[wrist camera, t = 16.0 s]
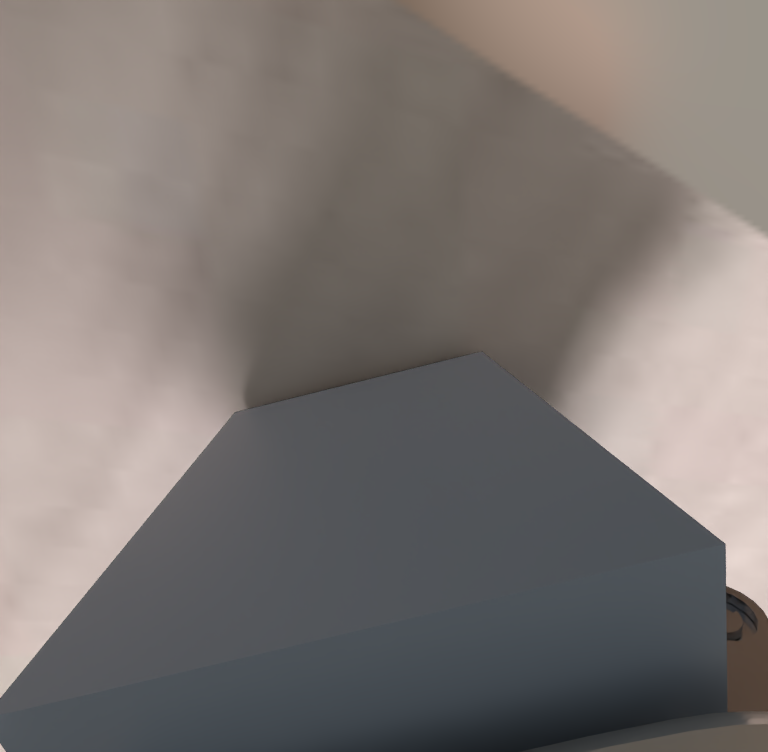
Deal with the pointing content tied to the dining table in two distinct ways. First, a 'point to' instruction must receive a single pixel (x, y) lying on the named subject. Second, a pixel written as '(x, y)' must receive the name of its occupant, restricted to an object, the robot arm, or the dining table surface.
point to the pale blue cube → (389, 588)
